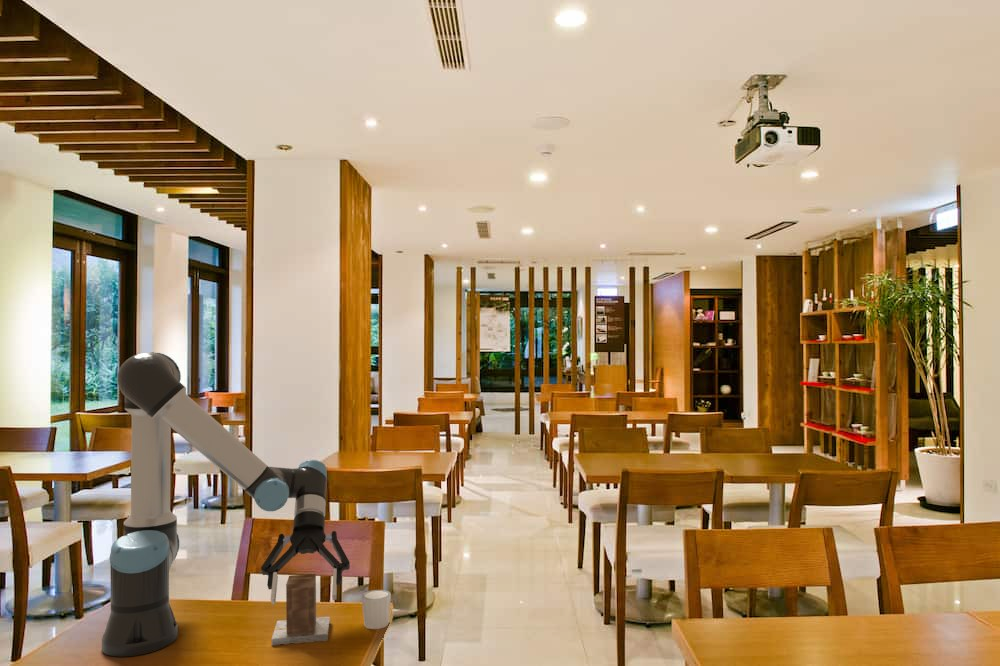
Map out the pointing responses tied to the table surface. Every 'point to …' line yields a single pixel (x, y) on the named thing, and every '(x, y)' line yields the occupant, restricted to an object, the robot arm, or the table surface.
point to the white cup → (376, 608)
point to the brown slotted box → (301, 603)
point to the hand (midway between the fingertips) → (303, 600)
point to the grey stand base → (316, 635)
